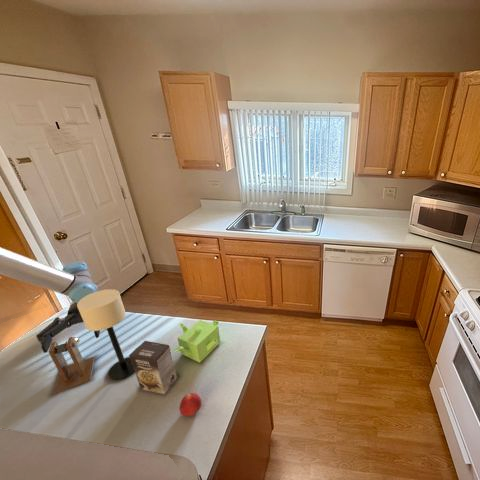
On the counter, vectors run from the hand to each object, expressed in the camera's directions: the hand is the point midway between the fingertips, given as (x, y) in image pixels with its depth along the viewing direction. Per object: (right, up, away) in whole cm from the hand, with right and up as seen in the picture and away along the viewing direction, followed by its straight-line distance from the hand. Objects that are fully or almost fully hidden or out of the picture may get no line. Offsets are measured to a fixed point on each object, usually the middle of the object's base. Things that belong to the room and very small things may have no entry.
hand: (71, 342), depth 89 cm
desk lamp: (+18, -11, +1) cm, 21 cm away
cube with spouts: (+40, -8, +10) cm, 42 cm away
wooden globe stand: (+4, -11, -2) cm, 12 cm away
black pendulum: (+2, -2, -3) cm, 4 cm away
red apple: (+48, -17, -11) cm, 52 cm away
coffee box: (+33, -13, -3) cm, 36 cm away
